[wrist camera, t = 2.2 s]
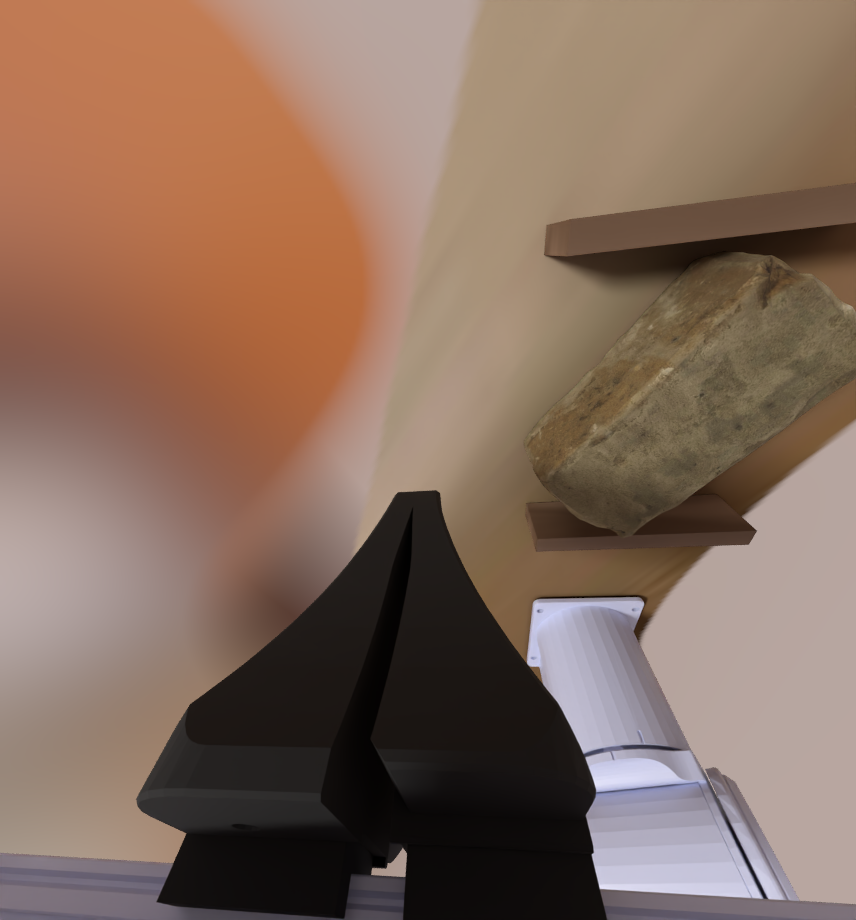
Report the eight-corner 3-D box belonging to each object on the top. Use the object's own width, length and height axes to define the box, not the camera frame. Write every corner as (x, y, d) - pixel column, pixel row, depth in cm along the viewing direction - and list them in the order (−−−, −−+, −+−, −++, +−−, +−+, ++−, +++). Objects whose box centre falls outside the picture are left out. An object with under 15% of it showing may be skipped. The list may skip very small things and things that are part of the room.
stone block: (781, 322, 15) (915, 353, 10) (584, 491, 20) (619, 555, 16) (697, 239, 13) (815, 235, 9) (509, 445, 19) (527, 503, 14)
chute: (710, 507, 20) (748, 544, 17) (525, 515, 21) (536, 551, 18) (859, 185, 12) (972, 168, 9) (546, 225, 13) (570, 219, 10)
